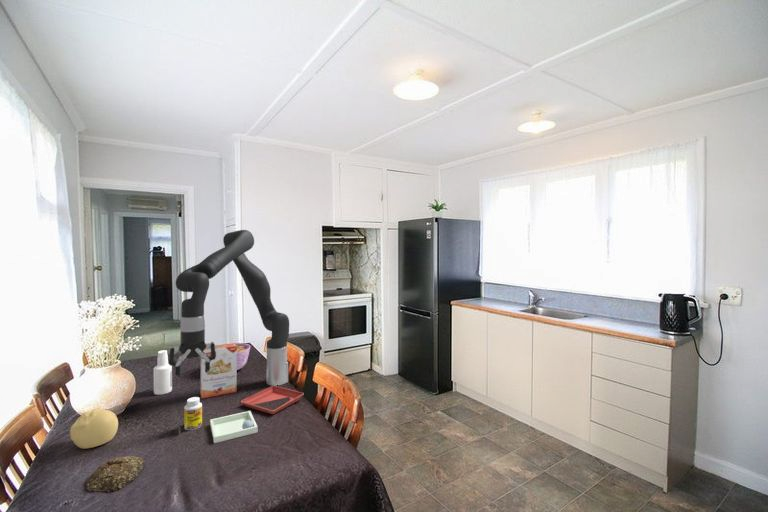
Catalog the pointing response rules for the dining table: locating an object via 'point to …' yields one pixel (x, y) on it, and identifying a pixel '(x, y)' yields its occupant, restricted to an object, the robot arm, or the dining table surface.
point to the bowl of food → (242, 354)
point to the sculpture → (94, 428)
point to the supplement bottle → (193, 414)
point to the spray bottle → (162, 374)
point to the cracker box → (220, 371)
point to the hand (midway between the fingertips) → (192, 374)
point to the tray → (232, 426)
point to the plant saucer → (272, 398)
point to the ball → (247, 424)
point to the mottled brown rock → (115, 474)
